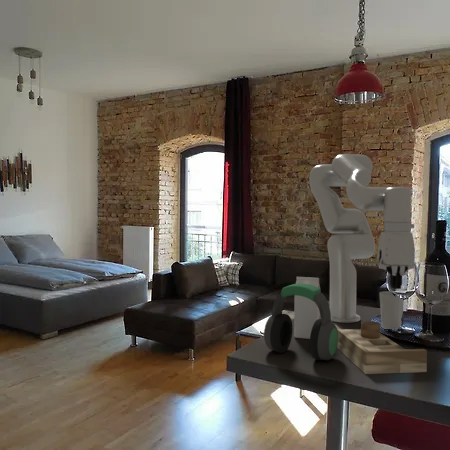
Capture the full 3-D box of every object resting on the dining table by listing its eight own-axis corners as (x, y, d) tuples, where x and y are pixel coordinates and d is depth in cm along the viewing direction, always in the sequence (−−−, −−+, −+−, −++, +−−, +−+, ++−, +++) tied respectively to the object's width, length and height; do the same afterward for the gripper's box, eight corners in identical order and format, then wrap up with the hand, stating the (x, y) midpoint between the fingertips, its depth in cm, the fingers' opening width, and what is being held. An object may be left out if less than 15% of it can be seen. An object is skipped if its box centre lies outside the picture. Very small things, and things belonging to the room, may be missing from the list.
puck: (358, 333, 141) (358, 321, 141) (375, 333, 141) (375, 320, 141) (365, 339, 135) (365, 325, 135) (383, 338, 136) (383, 325, 136)
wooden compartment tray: (325, 336, 145) (325, 319, 145) (373, 335, 147) (373, 318, 147) (365, 374, 114) (365, 352, 113) (426, 371, 115) (427, 350, 115)
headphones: (339, 355, 127) (340, 284, 126) (326, 367, 118) (327, 291, 117) (278, 344, 137) (278, 278, 137) (261, 354, 128) (261, 284, 127)
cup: (405, 332, 151) (406, 296, 150) (380, 331, 152) (381, 295, 152) (401, 326, 158) (401, 291, 158) (377, 324, 160) (377, 291, 159)
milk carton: (298, 331, 151) (298, 275, 150) (319, 334, 149) (320, 276, 148) (294, 337, 144) (294, 278, 143) (316, 340, 142) (317, 279, 141)
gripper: (414, 227, 142) (413, 285, 143) (368, 227, 141) (367, 286, 141) (427, 228, 135) (425, 290, 135) (378, 228, 133) (377, 290, 134)
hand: (395, 287), depth 138 cm, fingers closed
